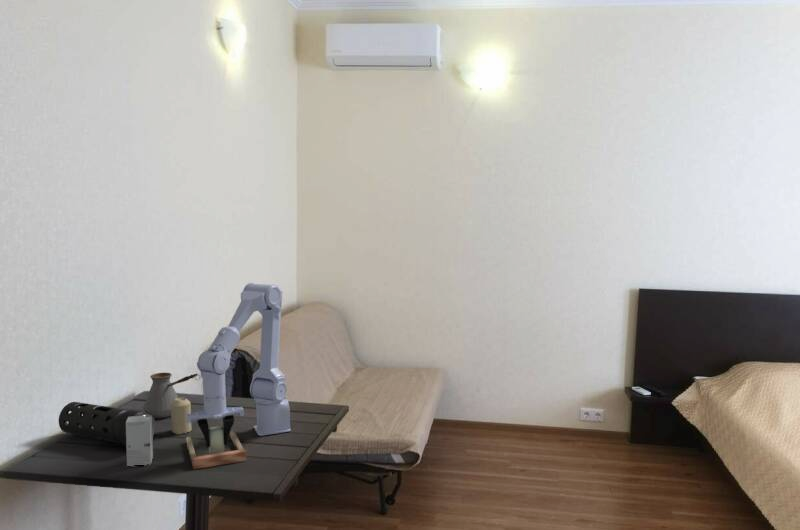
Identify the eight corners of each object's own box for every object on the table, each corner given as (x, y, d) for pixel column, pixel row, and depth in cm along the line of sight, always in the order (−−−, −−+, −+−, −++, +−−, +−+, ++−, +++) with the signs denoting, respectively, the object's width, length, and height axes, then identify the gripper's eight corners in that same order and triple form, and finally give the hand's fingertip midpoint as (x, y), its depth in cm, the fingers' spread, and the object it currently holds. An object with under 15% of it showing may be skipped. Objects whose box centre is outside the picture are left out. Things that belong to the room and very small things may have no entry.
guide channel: (234, 435, 192) (234, 427, 192) (246, 460, 174) (246, 451, 174) (186, 442, 187) (185, 434, 187) (193, 469, 169) (193, 459, 168)
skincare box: (126, 467, 170) (124, 422, 169) (129, 460, 174) (127, 416, 173) (151, 465, 171) (149, 420, 170) (154, 458, 176) (152, 414, 175)
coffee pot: (135, 417, 209) (133, 371, 207) (163, 406, 219) (161, 362, 217) (186, 427, 200) (184, 378, 198) (213, 415, 210) (211, 369, 208)
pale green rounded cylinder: (223, 446, 180) (222, 425, 179) (225, 452, 176) (224, 430, 175) (208, 449, 178) (207, 427, 177) (210, 454, 174) (209, 432, 174)
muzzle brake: (86, 430, 198) (83, 396, 197) (158, 443, 187) (157, 407, 186) (58, 441, 189) (56, 406, 188) (133, 455, 178) (131, 418, 177)
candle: (185, 435, 193) (184, 401, 192) (168, 434, 194) (166, 400, 193) (195, 428, 198) (193, 396, 197) (178, 427, 199) (176, 395, 198)
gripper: (187, 403, 169) (189, 454, 170) (244, 396, 174) (246, 445, 176) (185, 395, 175) (187, 445, 177) (240, 389, 181) (242, 436, 182)
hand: (216, 444), depth 177 cm, fingers closed on pale green rounded cylinder, 4 cm apart
